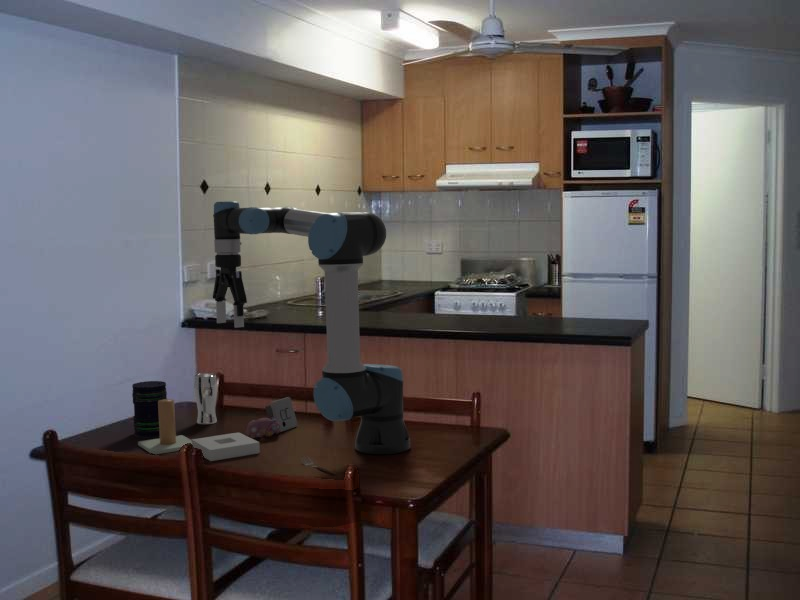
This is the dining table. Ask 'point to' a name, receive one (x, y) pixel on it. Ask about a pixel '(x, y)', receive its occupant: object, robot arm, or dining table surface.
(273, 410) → the electrical switch
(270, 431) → the pink animal figurine
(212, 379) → the beer glass
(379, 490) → the dining table surface
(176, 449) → the mat
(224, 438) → the white square flat box
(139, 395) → the storage jar
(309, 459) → the fork
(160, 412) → the plug
